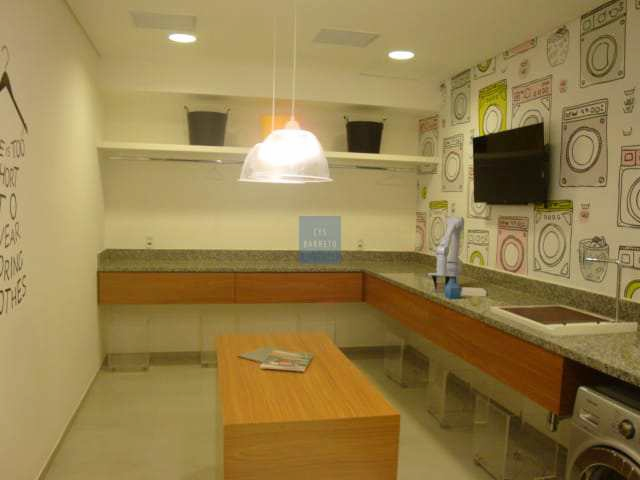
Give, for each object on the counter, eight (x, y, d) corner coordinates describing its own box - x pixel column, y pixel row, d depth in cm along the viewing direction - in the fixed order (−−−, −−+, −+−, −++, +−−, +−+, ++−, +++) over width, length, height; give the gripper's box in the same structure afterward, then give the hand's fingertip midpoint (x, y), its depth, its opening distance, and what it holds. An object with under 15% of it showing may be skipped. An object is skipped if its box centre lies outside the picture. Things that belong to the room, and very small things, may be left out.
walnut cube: (435, 291, 309) (436, 282, 309) (444, 291, 309) (444, 283, 308) (436, 292, 304) (436, 284, 304) (445, 292, 304) (445, 284, 303)
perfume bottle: (450, 299, 284) (451, 277, 283) (444, 297, 290) (445, 275, 289) (460, 299, 286) (461, 277, 285) (454, 296, 292) (455, 275, 291)
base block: (461, 292, 311) (461, 287, 310) (482, 293, 309) (482, 288, 309) (464, 295, 299) (464, 290, 299) (485, 296, 297) (486, 291, 297)
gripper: (429, 266, 302) (428, 289, 303) (455, 267, 300) (453, 290, 301) (428, 265, 309) (427, 287, 310) (453, 266, 307) (452, 288, 308)
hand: (440, 289), depth 306 cm, fingers closed on walnut cube, 5 cm apart
